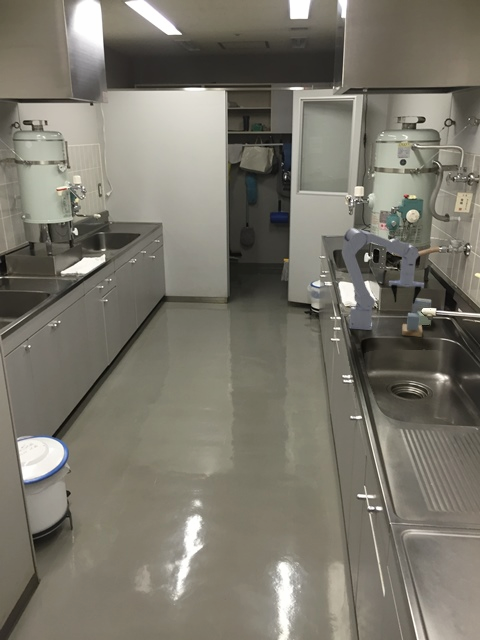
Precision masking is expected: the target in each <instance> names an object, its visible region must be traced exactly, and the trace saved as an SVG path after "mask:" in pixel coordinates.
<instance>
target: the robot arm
mask: <svg viewBox="0 0 480 640" xmlns="http://www.w3.org/2000/svg"><path fill="white" fill-rule="evenodd" d="M342 238H343V243H342V249H341V255H342V259H343V261H344V264H345V266H346V270H347V273H348V274H349V278H350V280H351V283H352V286H353V292H354V296H353V297H354V301H355V303H356V304H355V306H351V307H350V312H349V313H350V314H349V320H348V321H349V327H348V328H349V329H351V330H352V329H354V330H365V331H372V328H373V322H372V317H373V308H374V307H375V303H376V301H375V298H374V297H373V296H371V294H370V291H369V290H368V288H367V285H366V283H365V280H364V277H363V275H362V272H361V269H360V265H359V264H358V260H357V257H356V255H357V252H358V251H359V250H361V248H362V247H363V246H364V245H369V244H371V243H372V244H375V245H377V246H380V247H384V248H386V251H387V252H388V253H391V254H395V255H396V256H399V257H401V265H400V277H399V279H398V280H389V281H388V287H391V291H392V294H393V299H394V303H397V294H398V287H405V288H414V289H413V297H412V302H413V304H414V303H415V300H416V298H418V295H419V294H420V292H421V291H422V289H424V287H425V282H422V281H421V282H420V281H414V280H415V270H416V269H415V268H416V261H417V259H418V258H419V256H420V253H419V250H418V248H417V247H415V246H414V245H411V244H410V243H409V242H403V241H401V240H400V239H399V238H397V237H395V238H391V239H386V238H384V237H382V236H379V235H377V234H375V233H372V232H371V231H367V230H363V229H359V230H358V229H357V228H355V227H352V228H349V229H348V230H347V231H346V232H345V234H344V236H343V237H342Z"/></svg>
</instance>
